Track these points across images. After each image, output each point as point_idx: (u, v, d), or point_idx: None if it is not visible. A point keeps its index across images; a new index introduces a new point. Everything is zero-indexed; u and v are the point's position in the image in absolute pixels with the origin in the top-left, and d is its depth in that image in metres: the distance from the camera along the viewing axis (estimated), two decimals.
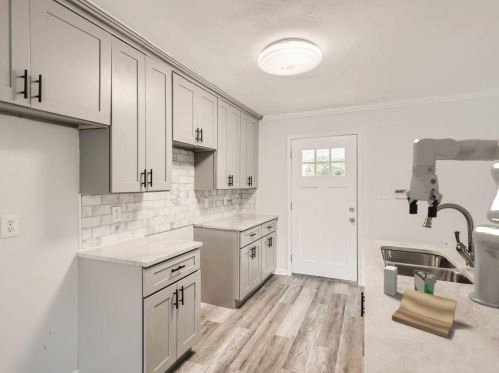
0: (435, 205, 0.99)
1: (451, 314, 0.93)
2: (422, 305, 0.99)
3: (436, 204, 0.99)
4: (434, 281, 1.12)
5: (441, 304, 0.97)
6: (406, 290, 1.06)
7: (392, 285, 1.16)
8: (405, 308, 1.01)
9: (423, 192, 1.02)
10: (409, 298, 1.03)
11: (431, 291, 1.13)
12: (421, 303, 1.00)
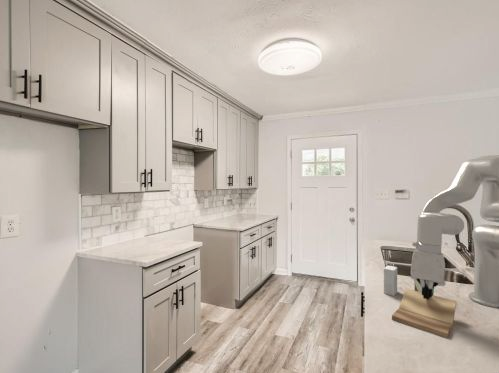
0: None
1: (451, 314, 0.93)
2: (422, 305, 1.00)
3: None
4: None
5: (441, 304, 0.97)
6: (406, 290, 1.07)
7: (392, 285, 1.16)
8: (405, 308, 1.01)
9: None
10: (409, 298, 1.04)
11: None
12: (421, 303, 1.00)
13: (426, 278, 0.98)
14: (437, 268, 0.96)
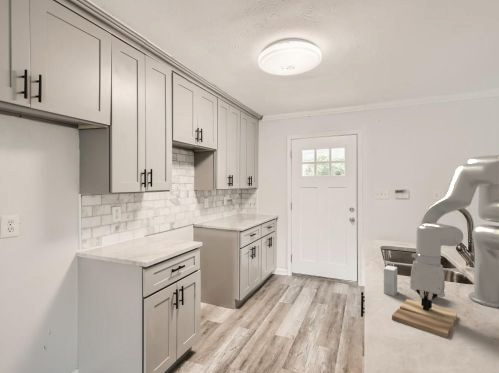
0: None
1: (451, 318, 0.94)
2: None
3: None
4: None
5: (442, 312, 0.99)
6: (408, 300, 1.08)
7: (392, 285, 1.16)
8: (406, 307, 1.02)
9: None
10: (410, 304, 1.05)
11: None
12: (422, 308, 1.01)
13: (425, 289, 0.99)
14: (436, 280, 0.97)
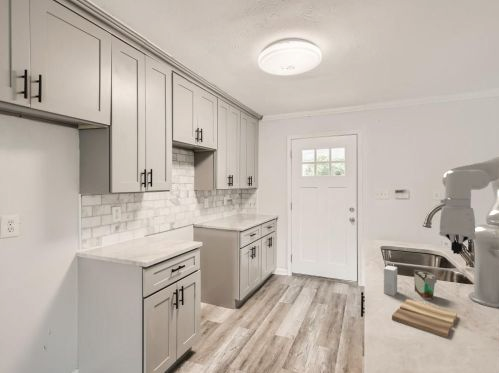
0: None
1: (451, 318, 0.94)
2: (423, 309, 1.01)
3: (449, 238, 1.03)
4: (434, 281, 1.12)
5: (442, 312, 0.99)
6: (408, 300, 1.08)
7: (392, 285, 1.16)
8: (406, 307, 1.02)
9: None
10: (410, 304, 1.05)
11: (431, 291, 1.13)
12: (422, 308, 1.01)
13: (456, 233, 0.99)
14: (467, 221, 0.97)
